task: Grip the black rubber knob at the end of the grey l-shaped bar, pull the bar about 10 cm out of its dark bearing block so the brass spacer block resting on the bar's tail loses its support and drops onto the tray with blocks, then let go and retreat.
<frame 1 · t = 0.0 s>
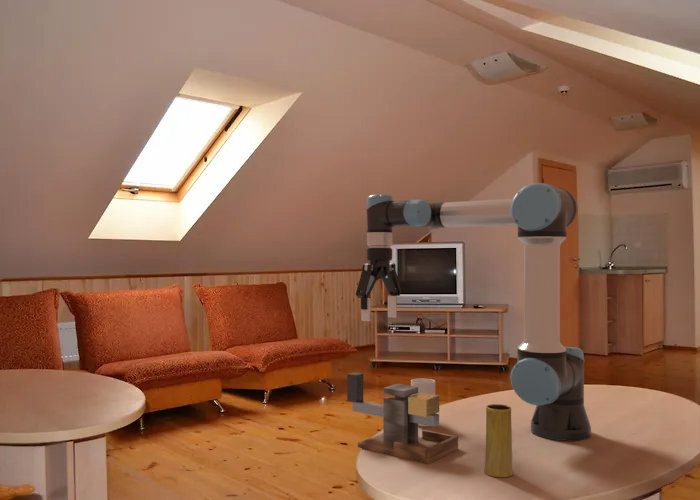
hand: (379, 319, 188), 28 cm above the table, fingers open, 13 cm apart
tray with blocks: (393, 444, 157), on the table
grey l-shaped bar: (391, 397, 158), point 12 cm above the table, slide at 0.0 cm, touching spacer
spacer: (423, 413, 152), point 9 cm above the table, touching grey l-shaped bar
mug: (424, 423, 179), on the table
vase: (498, 474, 137), on the table
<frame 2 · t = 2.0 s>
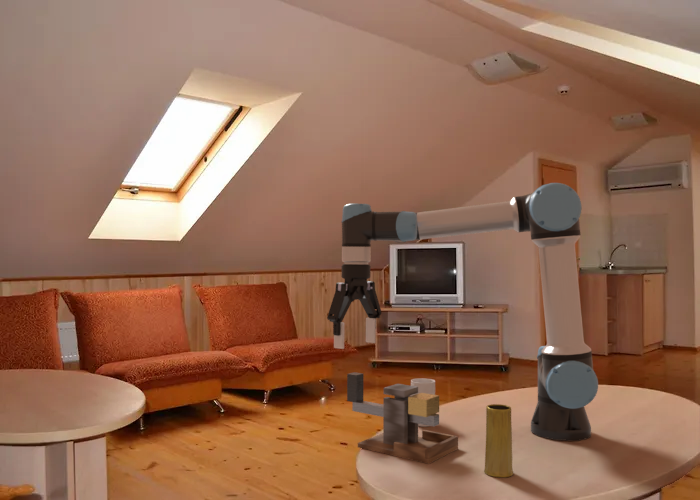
hand: (355, 345, 165), 24 cm above the table, fingers open, 13 cm apart
nothing on the table moved.
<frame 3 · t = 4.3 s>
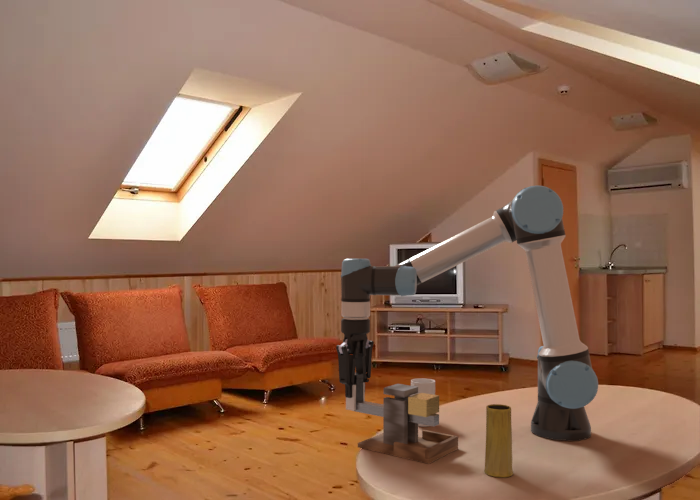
hand: (355, 408, 165), 7 cm above the table, fingers closed on grey l-shaped bar, 3 cm apart
grey l-shaped bar: (391, 397, 158), point 11 cm above the table, slide at 0.0 cm, touching gripper, spacer
everything else where it was.
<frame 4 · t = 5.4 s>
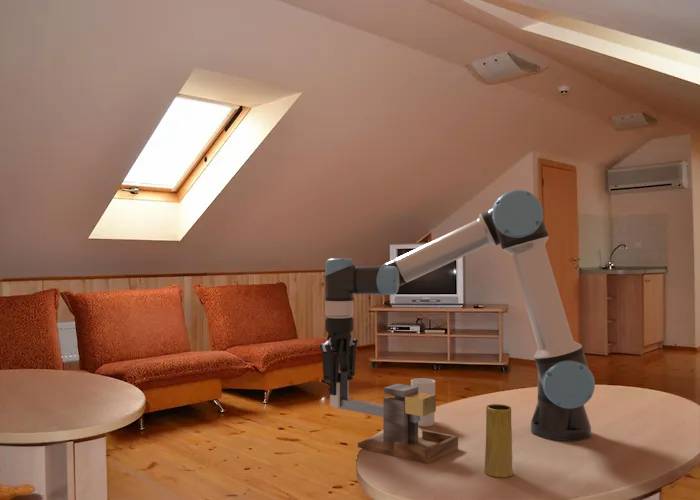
hand: (339, 405, 168), 7 cm above the table, fingers closed on grey l-shaped bar, 3 cm apart
grey l-shaped bar: (374, 395, 161), point 12 cm above the table, slide at 5.2 cm, touching gripper, spacer
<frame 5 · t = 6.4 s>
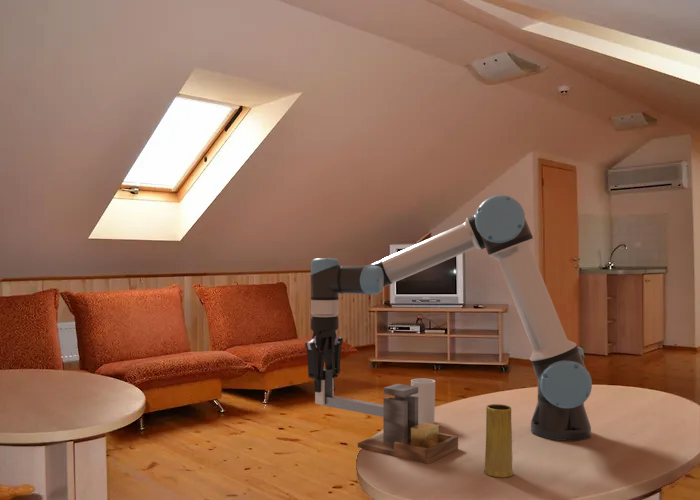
hand: (324, 402, 171), 7 cm above the table, fingers closed on grey l-shaped bar, 3 cm apart
grey l-shaped bar: (358, 392, 164), point 12 cm above the table, slide at 10.3 cm, touching gripper
spacer: (417, 435, 153), point 3 cm above the table, tilted 90°, touching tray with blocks
everything else where it was.
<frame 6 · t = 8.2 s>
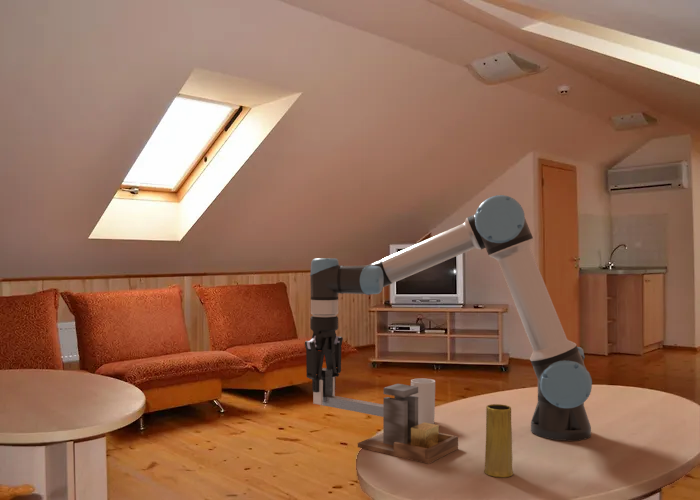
hand: (324, 402, 171), 7 cm above the table, fingers open, 4 cm apart
grey l-shaped bar: (358, 392, 164), point 12 cm above the table, slide at 10.4 cm
everything else where it was.
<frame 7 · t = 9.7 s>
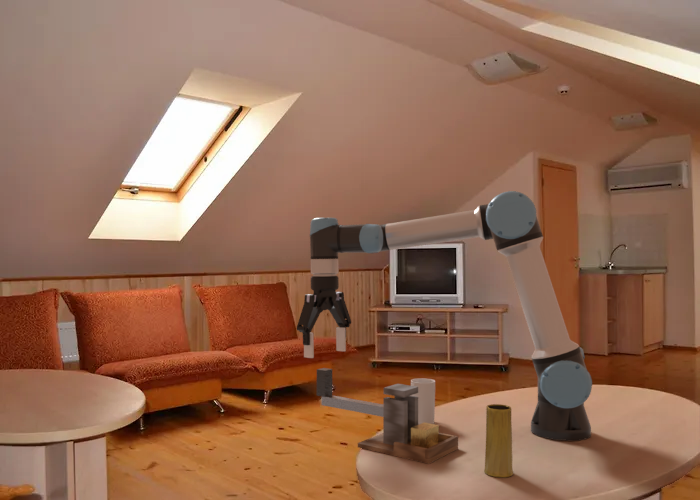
hand: (325, 354, 171), 20 cm above the table, fingers open, 13 cm apart
nothing on the table moved.
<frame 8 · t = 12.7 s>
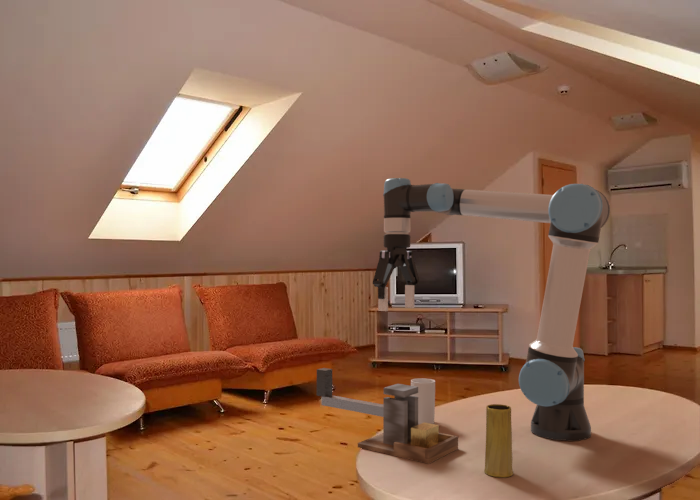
hand: (396, 309, 178), 32 cm above the table, fingers open, 13 cm apart
nothing on the table moved.
at the end: grey l-shaped bar slide at 10.4 cm; spacer inside the target area on the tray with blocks (0.7 cm from its centre), point 3.5 cm above the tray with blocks's base; the gripper is holding nothing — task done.
